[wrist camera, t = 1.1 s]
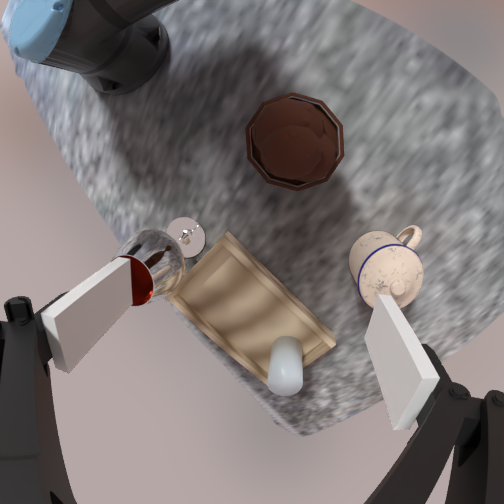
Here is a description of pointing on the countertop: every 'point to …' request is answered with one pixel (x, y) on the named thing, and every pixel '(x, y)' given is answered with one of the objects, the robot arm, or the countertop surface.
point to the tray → (247, 308)
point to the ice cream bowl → (294, 141)
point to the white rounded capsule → (285, 366)
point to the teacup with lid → (387, 266)
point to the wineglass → (160, 258)
